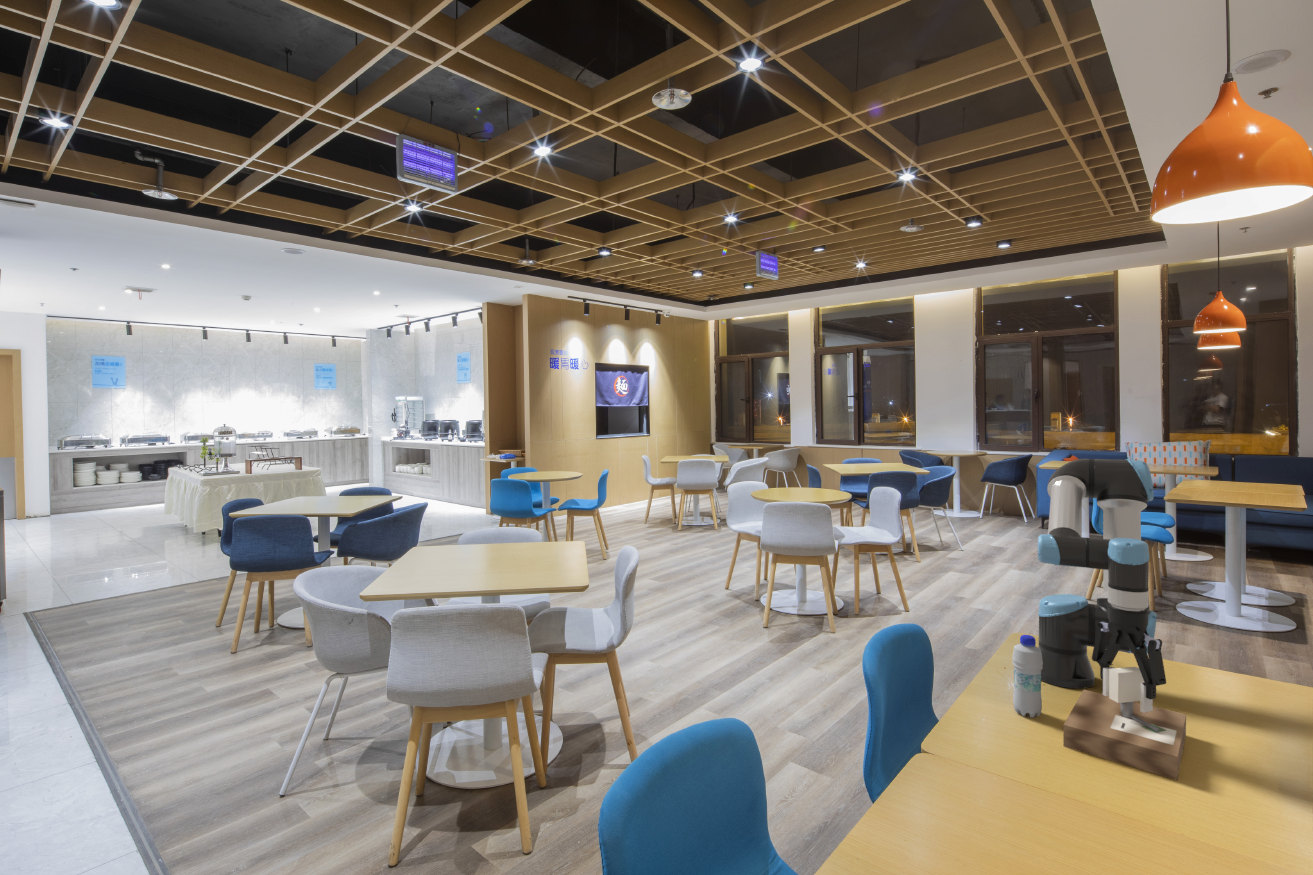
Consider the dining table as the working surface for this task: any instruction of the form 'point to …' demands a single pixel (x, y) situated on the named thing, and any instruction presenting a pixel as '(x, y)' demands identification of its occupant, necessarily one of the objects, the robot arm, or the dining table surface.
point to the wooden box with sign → (1126, 734)
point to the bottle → (1027, 677)
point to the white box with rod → (1126, 690)
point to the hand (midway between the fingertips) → (1126, 702)
